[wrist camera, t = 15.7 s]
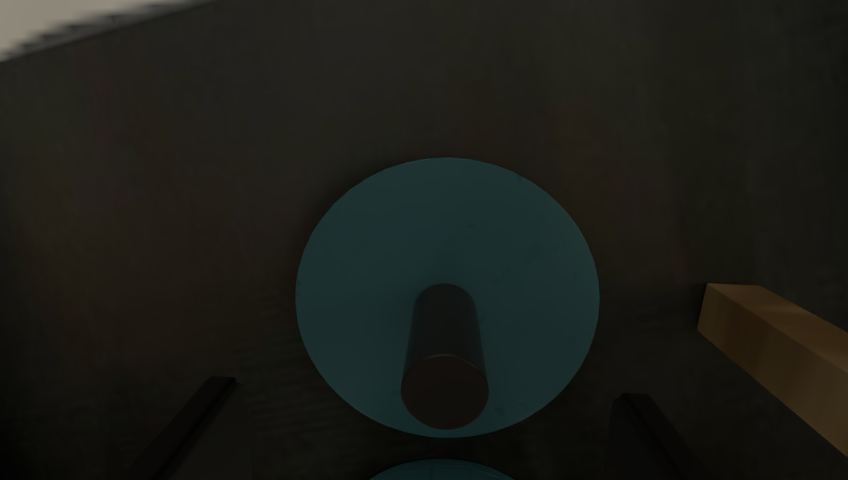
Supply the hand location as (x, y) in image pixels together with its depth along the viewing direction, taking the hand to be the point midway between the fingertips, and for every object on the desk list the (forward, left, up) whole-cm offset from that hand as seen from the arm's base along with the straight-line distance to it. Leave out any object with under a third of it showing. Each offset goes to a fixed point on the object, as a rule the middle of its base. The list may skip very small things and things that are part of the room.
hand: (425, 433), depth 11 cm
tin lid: (0, 0, -8) cm, 8 cm away
